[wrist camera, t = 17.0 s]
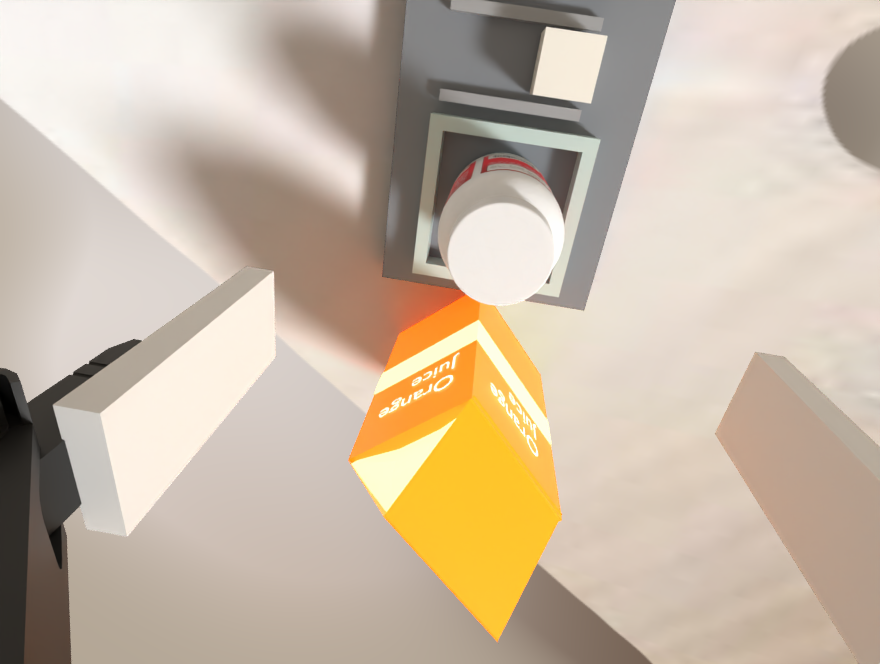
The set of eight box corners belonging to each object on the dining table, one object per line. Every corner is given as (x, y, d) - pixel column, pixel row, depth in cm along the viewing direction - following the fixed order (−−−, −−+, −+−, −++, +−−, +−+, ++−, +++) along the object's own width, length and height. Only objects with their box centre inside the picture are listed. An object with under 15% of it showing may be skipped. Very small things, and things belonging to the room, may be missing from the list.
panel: (429, -179, 25) (419, -217, 22) (706, -141, 25) (737, -175, 21) (387, 267, 36) (377, 284, 33) (579, 299, 35) (587, 319, 32)
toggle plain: (541, 33, 27) (546, 26, 24) (596, 41, 27) (607, 35, 24) (529, 94, 28) (532, 94, 25) (582, 102, 28) (590, 103, 25)
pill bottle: (470, 263, 33) (459, 338, 23) (435, 174, 31) (405, 216, 21) (561, 230, 31) (591, 296, 22) (531, 134, 29) (549, 159, 19)
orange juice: (482, 284, 36) (467, 479, 18) (542, 374, 38) (580, 622, 21) (396, 334, 38) (307, 549, 20) (458, 415, 41) (428, 667, 23)
